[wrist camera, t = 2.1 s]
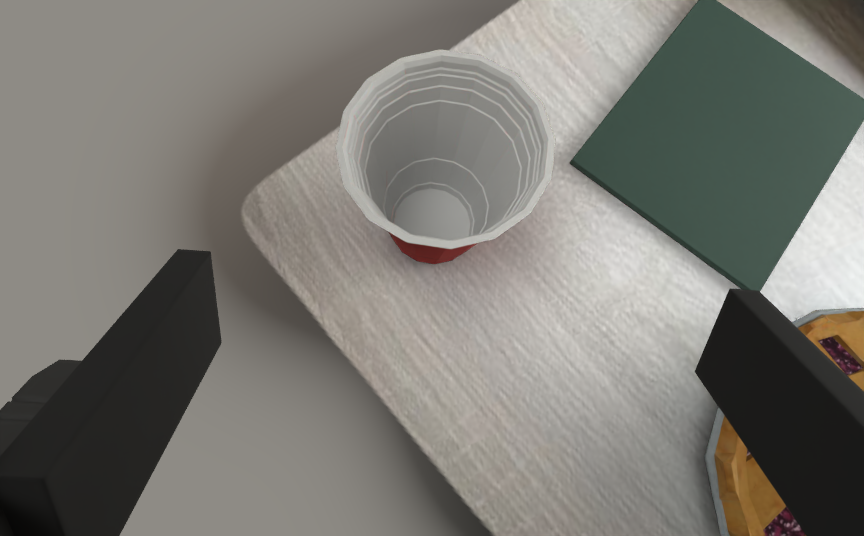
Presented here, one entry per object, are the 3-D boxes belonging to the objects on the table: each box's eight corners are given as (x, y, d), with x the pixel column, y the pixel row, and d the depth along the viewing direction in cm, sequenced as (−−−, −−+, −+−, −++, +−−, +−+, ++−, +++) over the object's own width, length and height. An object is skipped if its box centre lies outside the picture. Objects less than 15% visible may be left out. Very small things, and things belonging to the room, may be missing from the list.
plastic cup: (350, 154, 39) (334, 42, 27) (499, 154, 39) (545, 46, 28) (350, 302, 36) (332, 247, 24) (510, 299, 37) (567, 244, 25)
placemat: (569, 163, 40) (571, 159, 39) (700, -3, 45) (704, -8, 44) (752, 297, 38) (758, 295, 37) (867, 108, 43) (873, 104, 43)
